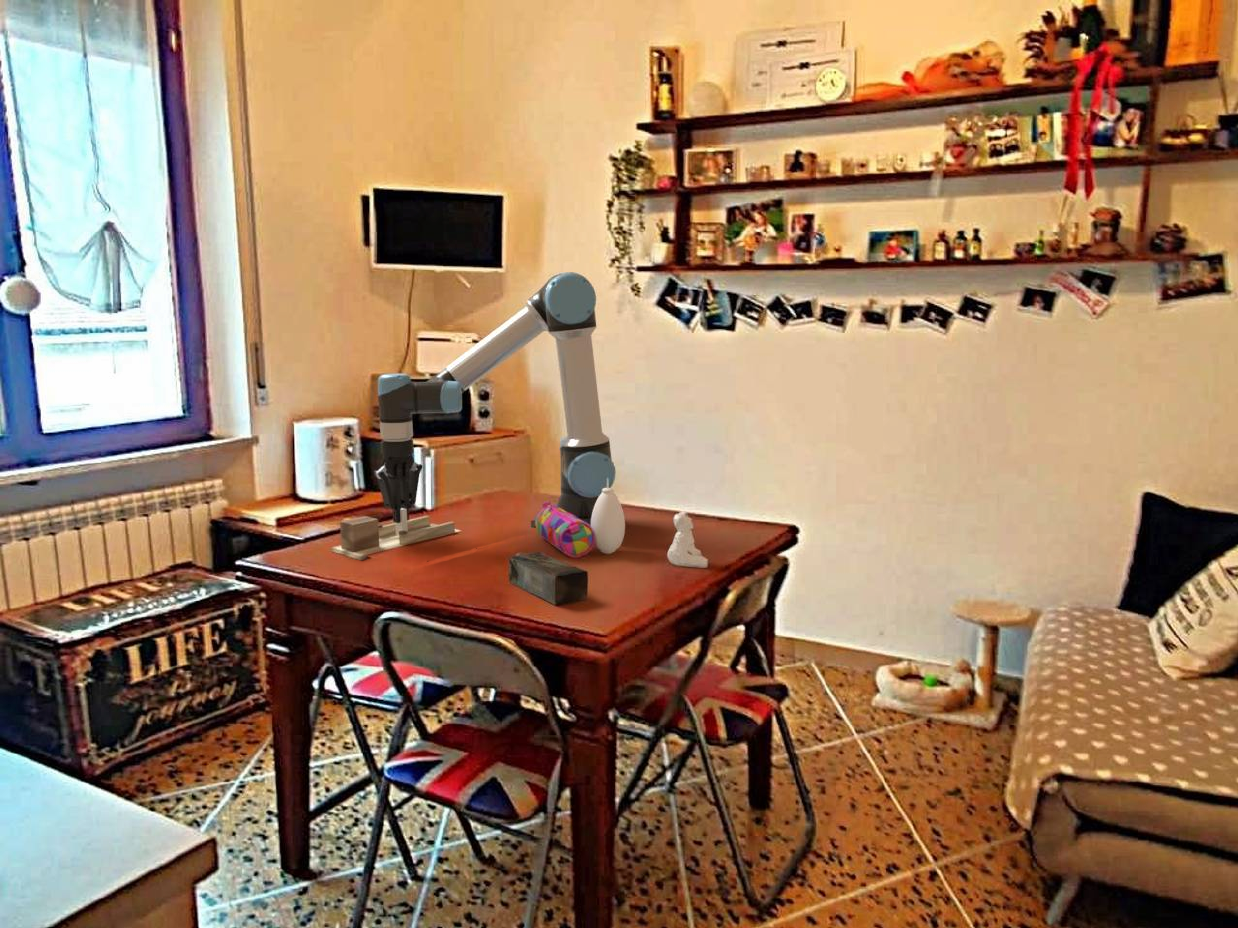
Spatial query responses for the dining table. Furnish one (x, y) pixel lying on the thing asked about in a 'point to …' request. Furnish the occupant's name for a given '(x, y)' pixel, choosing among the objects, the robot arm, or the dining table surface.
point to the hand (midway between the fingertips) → (401, 534)
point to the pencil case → (564, 530)
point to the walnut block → (359, 534)
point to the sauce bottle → (608, 521)
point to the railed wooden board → (402, 536)
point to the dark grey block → (548, 578)
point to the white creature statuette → (685, 544)
